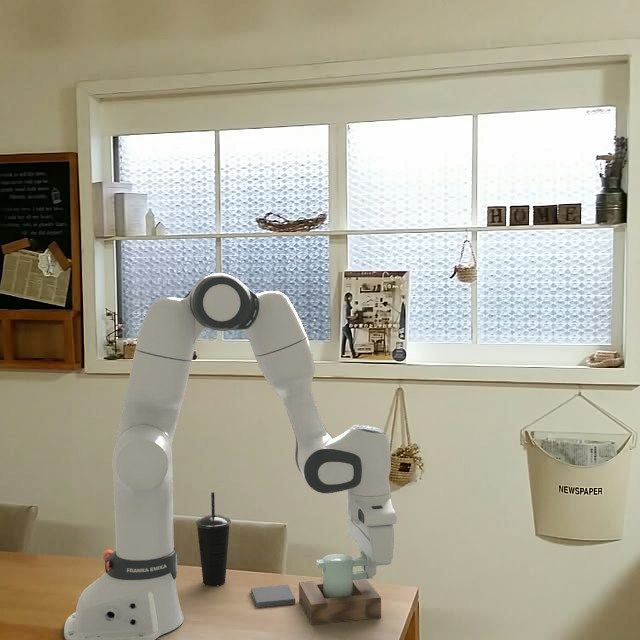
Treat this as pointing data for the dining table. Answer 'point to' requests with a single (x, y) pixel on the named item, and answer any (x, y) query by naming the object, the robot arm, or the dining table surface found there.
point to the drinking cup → (213, 546)
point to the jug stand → (339, 603)
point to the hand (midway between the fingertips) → (368, 572)
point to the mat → (272, 595)
